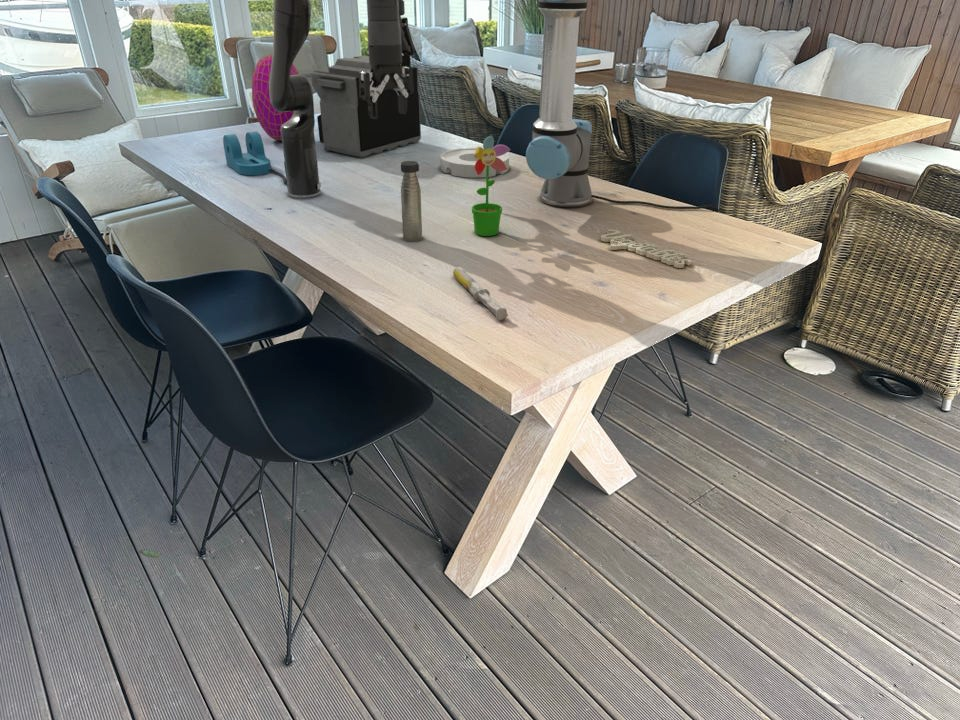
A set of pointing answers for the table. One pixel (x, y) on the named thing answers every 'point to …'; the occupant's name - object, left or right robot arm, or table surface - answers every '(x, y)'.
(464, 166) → the ashtray
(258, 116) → the decorative egg
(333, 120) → the cooler box
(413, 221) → the bottle
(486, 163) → the potted flower
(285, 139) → the left robot arm
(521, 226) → the table surface
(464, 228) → the table surface
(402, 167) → the cap
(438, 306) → the table surface
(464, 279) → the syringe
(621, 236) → the decorative sign
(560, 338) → the table surface
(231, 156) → the camera mount
